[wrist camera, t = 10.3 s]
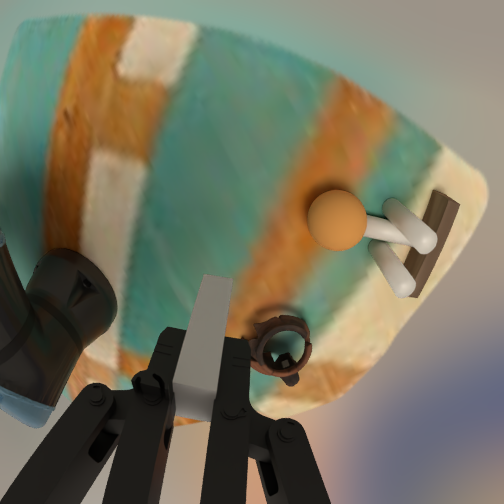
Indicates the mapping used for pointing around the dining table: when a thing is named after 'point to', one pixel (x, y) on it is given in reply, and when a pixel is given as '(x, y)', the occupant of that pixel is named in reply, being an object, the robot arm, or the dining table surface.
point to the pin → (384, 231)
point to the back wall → (440, 221)
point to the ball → (337, 220)
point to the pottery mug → (284, 363)
